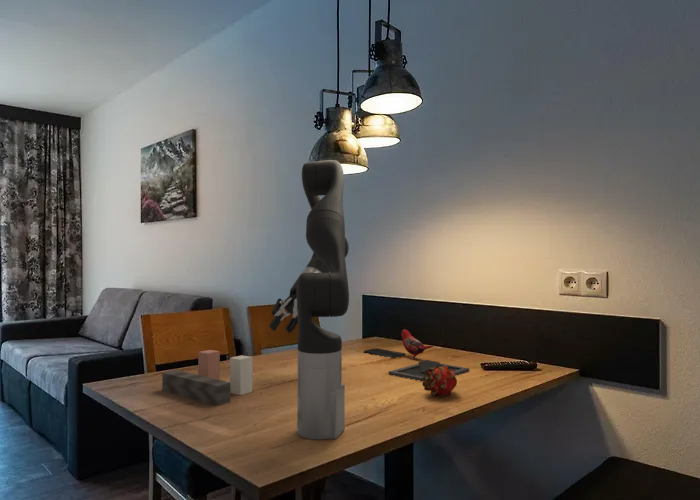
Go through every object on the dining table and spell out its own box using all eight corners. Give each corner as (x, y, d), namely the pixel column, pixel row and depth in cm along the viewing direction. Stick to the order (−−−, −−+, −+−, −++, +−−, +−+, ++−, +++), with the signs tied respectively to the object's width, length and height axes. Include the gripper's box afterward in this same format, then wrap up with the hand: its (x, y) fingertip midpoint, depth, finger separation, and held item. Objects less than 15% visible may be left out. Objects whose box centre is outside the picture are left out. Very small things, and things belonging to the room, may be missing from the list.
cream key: (252, 391, 133) (252, 357, 133) (240, 395, 129) (240, 359, 129) (241, 389, 135) (241, 355, 135) (229, 392, 132) (230, 357, 132)
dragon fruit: (425, 406, 130) (446, 402, 140) (451, 390, 127) (471, 387, 136) (410, 376, 134) (431, 374, 143) (435, 360, 130) (455, 359, 140)
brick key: (219, 384, 140) (219, 351, 140) (207, 387, 137) (207, 353, 137) (210, 381, 143) (210, 349, 143) (198, 384, 139) (198, 351, 140)
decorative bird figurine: (403, 355, 187) (403, 328, 187) (436, 364, 172) (436, 334, 172) (397, 356, 186) (397, 328, 186) (430, 365, 171) (430, 335, 171)
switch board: (265, 397, 132) (266, 373, 132) (216, 412, 120) (216, 386, 120) (209, 383, 146) (209, 362, 146) (159, 395, 133) (159, 372, 133)
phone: (376, 348, 198) (406, 353, 187) (376, 351, 198) (406, 356, 187) (362, 350, 192) (393, 356, 181) (362, 353, 192) (393, 359, 181)
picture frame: (427, 365, 173) (388, 376, 158) (427, 359, 173) (388, 370, 158) (469, 373, 162) (432, 385, 147) (469, 366, 162) (432, 378, 147)
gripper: (284, 276, 155) (254, 319, 146) (320, 277, 147) (292, 323, 137) (295, 292, 160) (268, 335, 150) (332, 295, 151) (305, 340, 142)
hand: (279, 329), depth 144 cm, fingers open, 5 cm apart
